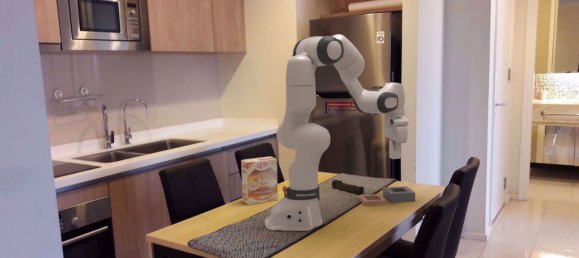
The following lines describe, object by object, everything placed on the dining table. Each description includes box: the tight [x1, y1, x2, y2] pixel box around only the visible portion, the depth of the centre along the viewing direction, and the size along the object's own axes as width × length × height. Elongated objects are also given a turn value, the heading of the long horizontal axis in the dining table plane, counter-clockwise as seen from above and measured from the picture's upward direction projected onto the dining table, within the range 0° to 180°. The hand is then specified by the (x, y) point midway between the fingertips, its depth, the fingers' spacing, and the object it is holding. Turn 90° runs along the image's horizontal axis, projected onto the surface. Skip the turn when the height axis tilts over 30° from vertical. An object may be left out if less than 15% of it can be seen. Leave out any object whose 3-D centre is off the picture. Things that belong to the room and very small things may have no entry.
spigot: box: [388, 140, 402, 160], centre depth 194 cm, size 4×4×8 cm
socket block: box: [382, 185, 416, 204], centre depth 197 cm, size 11×11×4 cm
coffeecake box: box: [240, 155, 279, 206], centre depth 199 cm, size 15×7×20 cm, turn 118°
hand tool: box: [331, 179, 365, 195], centre depth 213 cm, size 19×4×5 cm, turn 40°
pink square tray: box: [358, 193, 387, 207], centre depth 193 cm, size 10×10×2 cm
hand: (395, 149), depth 194 cm, fingers closed on spigot, 4 cm apart
